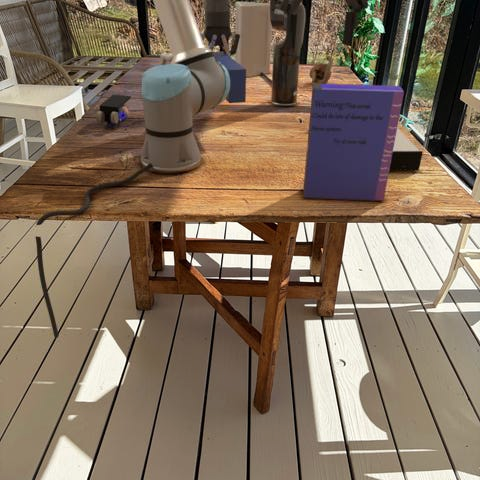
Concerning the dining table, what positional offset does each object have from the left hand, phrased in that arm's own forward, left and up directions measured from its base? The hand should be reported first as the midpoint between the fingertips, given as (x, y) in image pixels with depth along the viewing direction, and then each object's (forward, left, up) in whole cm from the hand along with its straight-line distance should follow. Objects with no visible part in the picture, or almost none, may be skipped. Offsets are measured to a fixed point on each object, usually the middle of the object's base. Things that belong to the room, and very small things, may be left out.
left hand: (319, 46), depth 103 cm
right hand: (+40, +32, -14) cm, 53 cm away
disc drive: (+17, -16, -30) cm, 38 cm away
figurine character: (+26, +62, -30) cm, 74 cm away
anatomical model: (+95, +2, -30) cm, 100 cm away
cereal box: (-11, -9, -30) cm, 33 cm away
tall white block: (+112, +33, -30) cm, 120 cm away
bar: (+31, +28, -19) cm, 46 cm away
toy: (+114, +62, -30) cm, 133 cm away
